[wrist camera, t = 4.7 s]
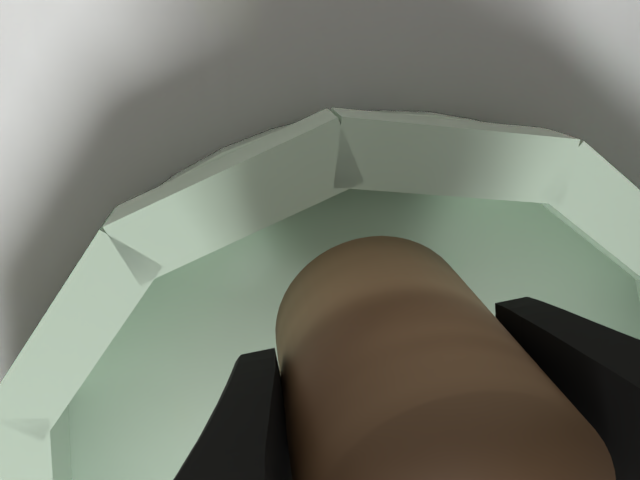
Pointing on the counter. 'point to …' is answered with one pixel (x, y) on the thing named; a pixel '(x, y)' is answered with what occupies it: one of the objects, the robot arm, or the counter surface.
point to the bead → (416, 378)
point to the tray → (298, 270)
